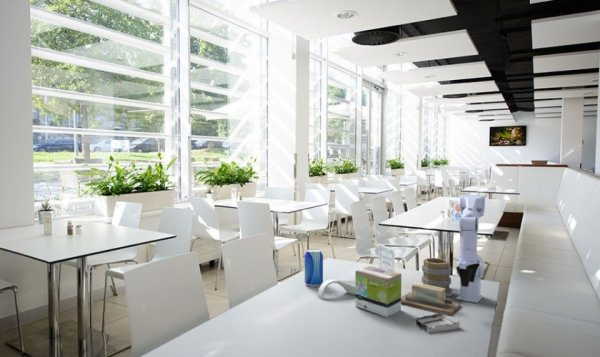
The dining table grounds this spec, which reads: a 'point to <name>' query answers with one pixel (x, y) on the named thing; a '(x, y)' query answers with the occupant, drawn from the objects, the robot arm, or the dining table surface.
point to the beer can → (313, 268)
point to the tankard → (437, 273)
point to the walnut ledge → (430, 304)
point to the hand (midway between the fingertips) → (467, 283)
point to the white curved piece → (346, 284)
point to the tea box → (378, 290)
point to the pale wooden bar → (428, 293)
